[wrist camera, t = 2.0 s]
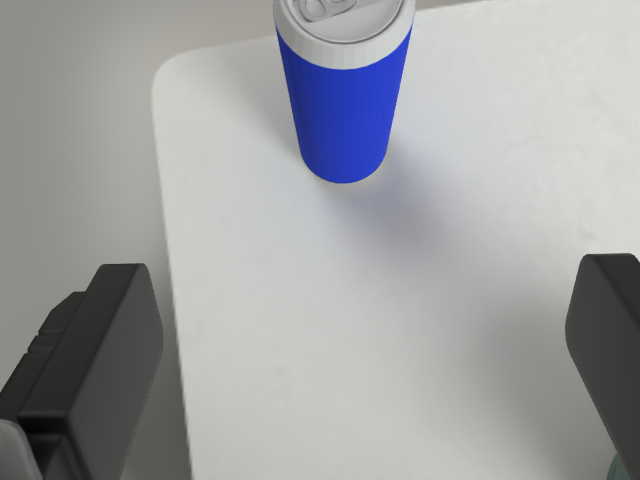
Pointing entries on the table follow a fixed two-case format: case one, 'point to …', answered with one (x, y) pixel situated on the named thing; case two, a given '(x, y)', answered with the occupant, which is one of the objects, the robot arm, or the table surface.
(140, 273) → the robot arm
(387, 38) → the beverage can
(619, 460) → the holder
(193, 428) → the table surface
